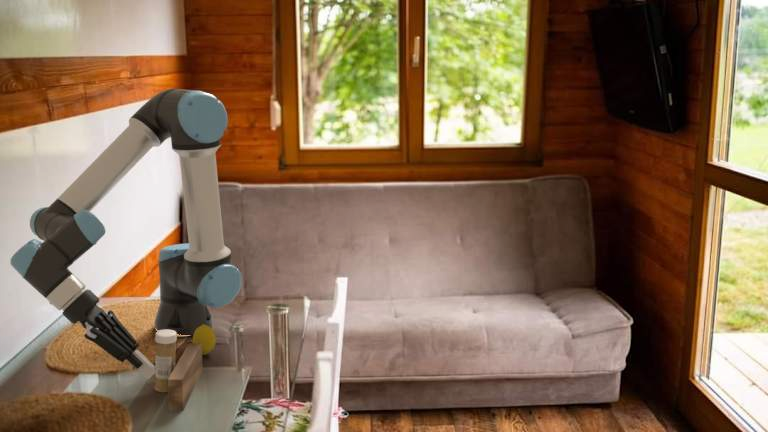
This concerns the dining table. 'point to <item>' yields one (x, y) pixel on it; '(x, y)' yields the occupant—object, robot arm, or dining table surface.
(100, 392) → the dining table surface
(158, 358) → the sprinkles bottle
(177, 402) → the walnut board
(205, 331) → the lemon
